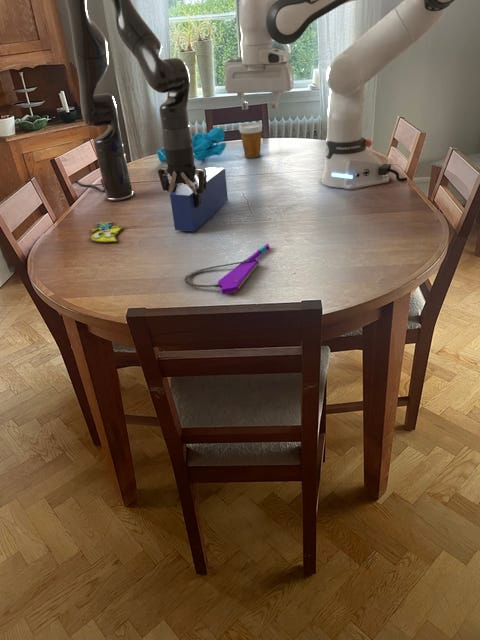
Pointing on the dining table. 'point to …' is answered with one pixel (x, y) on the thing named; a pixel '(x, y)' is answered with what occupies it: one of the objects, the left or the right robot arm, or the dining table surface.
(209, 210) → the box
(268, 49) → the right robot arm
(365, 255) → the dining table surface
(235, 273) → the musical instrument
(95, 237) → the toy
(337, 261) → the dining table surface
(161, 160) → the toy
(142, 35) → the left robot arm
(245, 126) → the glass of beer
